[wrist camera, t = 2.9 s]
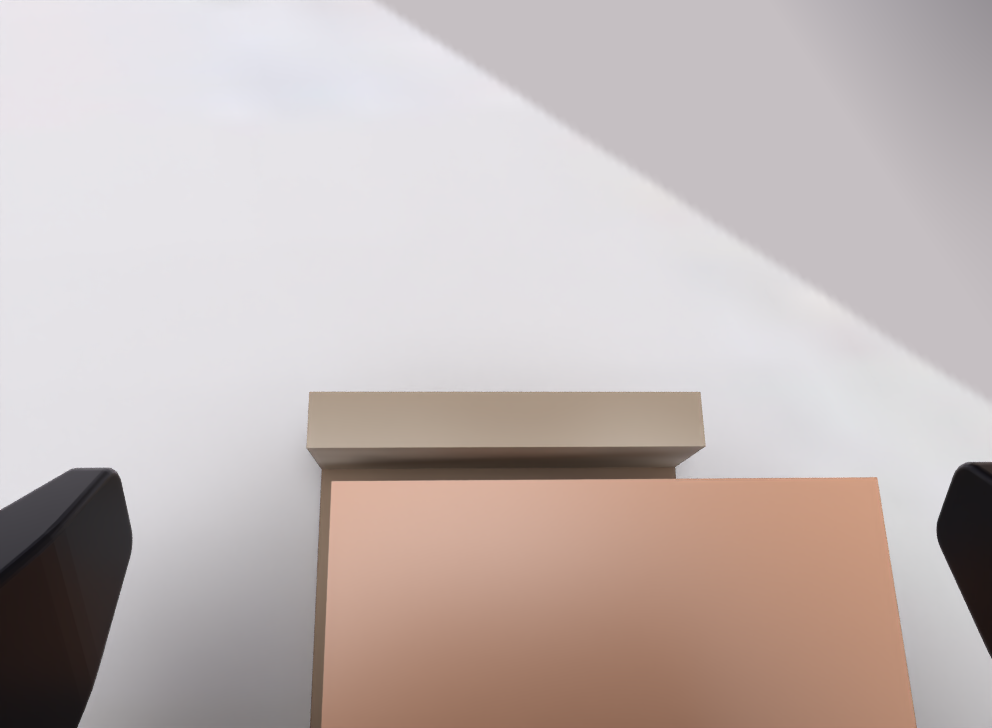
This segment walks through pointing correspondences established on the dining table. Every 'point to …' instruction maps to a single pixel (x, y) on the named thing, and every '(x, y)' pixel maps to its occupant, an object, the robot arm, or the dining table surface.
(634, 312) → the dining table surface
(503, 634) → the fader
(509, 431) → the fader track
